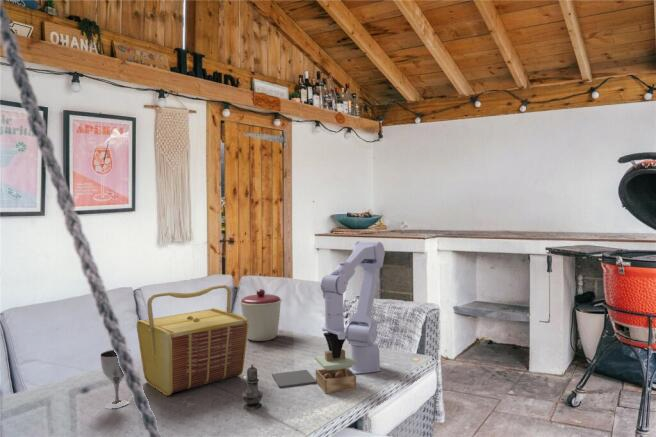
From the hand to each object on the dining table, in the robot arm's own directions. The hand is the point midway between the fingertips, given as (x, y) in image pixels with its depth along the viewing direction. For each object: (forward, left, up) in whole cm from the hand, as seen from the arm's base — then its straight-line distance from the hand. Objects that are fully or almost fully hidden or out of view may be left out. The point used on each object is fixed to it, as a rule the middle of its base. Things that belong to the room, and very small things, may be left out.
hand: (335, 356), depth 156 cm
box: (0, 0, -9) cm, 9 cm away
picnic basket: (+42, -21, -9) cm, 48 cm away
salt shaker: (+27, +7, -9) cm, 29 cm away
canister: (+12, -64, -9) cm, 66 cm away
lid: (0, 0, -2) cm, 2 cm away
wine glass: (+64, -8, -9) cm, 65 cm away
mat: (+11, -10, -9) cm, 17 cm away
